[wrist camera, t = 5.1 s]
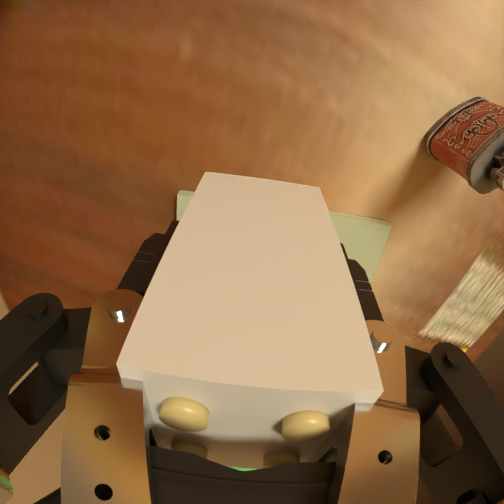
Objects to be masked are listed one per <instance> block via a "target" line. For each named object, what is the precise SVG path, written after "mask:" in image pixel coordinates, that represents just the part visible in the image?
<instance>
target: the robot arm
mask: <svg viewBox="0 0 504 504" xmlns="http://www.w3.org/2000/svg"><path fill="white" fill-rule="evenodd" d="M179 222H180V221H177V220H173V221H172V222H171V224H170V226H169V228H168V230H167V232H166V234H159V233H155V234H153V235H152V236H151V237H149V238H148V239H146V240H145V241H144V242H143V244H142V246H141V247H140V249H139V252H138V253H137V254H136V256H135V257H134V261H132V263H131V264H130V266H129V268H128V270H127V271H126V273H125V275H124V277H123V279H122V280H121V282H120V284H119V286H118V288H117V289H116V290H111V291H108V292H106V293H104V294H102V295H101V296H100V297H98V298H97V299H96V301H95V302H94V304H93V306H92V307H90V308H78V309H64V308H63V305H62V303H61V301H60V299H59V298H58V297H57V296H55V295H53V294H49V293H39V294H35V295H32V296H30V297H28V298H26V299H25V300H24V301H22V302H21V303H20V304H19V305H18V306H16V307H15V308H14V309H13V310H12V311H11V312H9V313H8V314H7V315H6V316H5V317H4V318H2V319H1V320H0V504H5V503H6V501H8V500H10V499H11V498H12V497H13V489H12V487H11V484H10V479H9V474H11V472H12V471H13V470H14V469H15V467H16V466H17V465H18V464H19V463H20V461H21V460H22V459H23V458H24V456H25V455H26V454H27V453H28V452H29V450H30V449H31V448H32V447H33V445H34V444H35V443H36V442H37V441H38V439H39V438H40V437H41V436H42V435H43V434H44V432H45V431H46V430H47V429H48V427H49V426H50V425H51V424H52V423H53V422H54V420H55V419H56V418H57V417H58V416H59V415H60V413H61V412H62V411H63V410H64V409H65V416H64V427H63V441H62V458H61V487H60V488H58V489H57V490H55V491H54V492H52V493H50V494H49V495H47V496H46V497H44V498H42V499H40V500H39V501H37V502H36V503H34V504H416V495H417V483H418V474H419V476H420V478H421V479H422V481H423V483H424V485H425V487H426V489H427V491H428V492H429V494H430V496H431V498H432V500H433V502H434V504H504V406H503V405H502V403H501V402H500V401H499V399H498V398H497V396H496V395H495V393H494V392H493V390H492V389H491V388H490V386H489V385H488V383H487V382H486V381H485V379H484V378H483V376H482V375H481V374H480V372H479V371H478V370H477V368H476V367H475V366H474V364H473V363H472V362H471V360H470V359H469V358H468V356H467V355H466V354H465V353H464V352H463V351H462V350H461V349H460V348H459V347H457V346H455V345H453V344H451V343H446V342H442V343H438V344H436V345H435V346H434V347H433V349H432V350H431V351H430V353H427V352H423V351H420V350H417V349H414V348H410V347H408V346H405V344H404V340H403V338H402V336H401V334H400V333H399V332H398V331H397V330H396V329H395V328H394V327H393V326H391V325H389V324H387V323H385V322H384V321H383V318H382V315H381V312H380V310H379V307H378V304H377V301H376V298H375V296H374V293H373V292H372V288H371V285H370V283H369V280H368V277H367V274H366V272H365V270H364V269H363V268H362V266H361V265H360V264H359V263H358V262H357V261H356V260H353V259H348V256H347V253H346V251H345V248H344V245H343V243H340V245H341V247H342V250H343V253H344V256H345V259H346V262H347V265H348V268H349V271H350V274H351V277H352V280H353V283H354V286H355V289H356V293H357V296H358V299H359V302H360V306H361V309H362V312H363V315H364V319H365V322H366V326H367V329H368V333H369V336H370V340H371V343H372V347H373V351H374V354H375V358H376V362H377V366H378V369H379V373H380V377H381V381H382V385H383V389H384V392H383V393H382V394H381V396H380V397H379V398H378V399H377V401H376V402H375V403H355V404H354V405H353V406H352V408H351V409H350V410H349V412H348V413H347V414H346V416H345V417H344V418H343V419H342V421H341V422H340V423H339V424H338V426H337V427H336V428H335V429H334V431H333V432H332V433H331V434H330V435H329V437H328V438H327V439H326V440H325V441H324V442H323V444H322V445H321V446H320V447H319V448H318V449H317V451H316V452H315V453H314V454H313V455H312V456H311V457H310V458H309V460H308V461H307V462H293V463H288V464H283V465H278V466H273V467H268V468H262V469H256V470H250V471H240V470H236V469H233V468H230V467H227V466H225V465H222V464H219V463H216V462H213V461H211V460H208V459H205V458H203V457H200V456H197V455H195V454H192V453H187V452H182V451H176V450H171V449H166V448H162V445H161V442H160V439H159V436H158V433H157V430H156V427H155V423H154V420H153V417H152V413H151V410H150V406H149V403H148V399H147V395H146V391H145V388H144V384H143V381H139V380H133V379H127V378H121V377H120V374H119V371H118V368H117V365H116V363H117V360H118V358H119V355H120V353H121V350H122V348H123V345H124V343H125V340H126V338H127V335H128V333H129V331H130V328H131V326H132V323H133V321H134V319H135V316H136V314H137V312H138V309H139V307H140V305H141V303H142V300H143V298H144V296H145V293H146V291H147V289H148V287H149V285H150V282H151V280H152V278H153V276H154V274H155V272H156V269H157V267H158V265H159V263H160V261H161V259H162V257H163V254H164V252H165V250H166V248H167V246H168V244H169V242H170V240H171V238H172V236H173V234H174V232H175V230H176V228H177V226H178V224H179ZM36 362H37V364H38V366H37V367H36V368H35V369H34V370H33V371H32V372H31V373H30V374H29V375H28V376H27V377H26V378H25V379H24V380H23V381H22V382H21V383H20V384H19V385H18V386H17V388H16V389H15V390H14V391H13V392H12V393H11V394H10V395H8V394H9V391H10V389H11V388H12V386H13V385H14V384H15V383H16V382H17V381H18V380H19V379H20V378H21V377H22V376H23V375H24V374H25V373H26V372H27V371H28V370H29V369H30V368H31V367H32V366H33V365H34V364H35V363H36ZM442 406H443V407H444V408H445V410H446V411H447V413H448V415H449V416H450V418H451V419H452V421H453V422H454V424H455V425H456V427H457V429H458V430H459V432H460V434H461V435H462V438H463V446H462V447H460V446H458V445H457V444H456V443H455V442H454V440H453V439H452V437H451V435H450V434H449V432H448V430H447V429H446V427H445V426H444V424H443V422H442V421H441V419H440V418H439V416H438V414H437V413H436V412H437V411H438V410H439V409H440V408H441V407H442Z"/></svg>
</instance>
